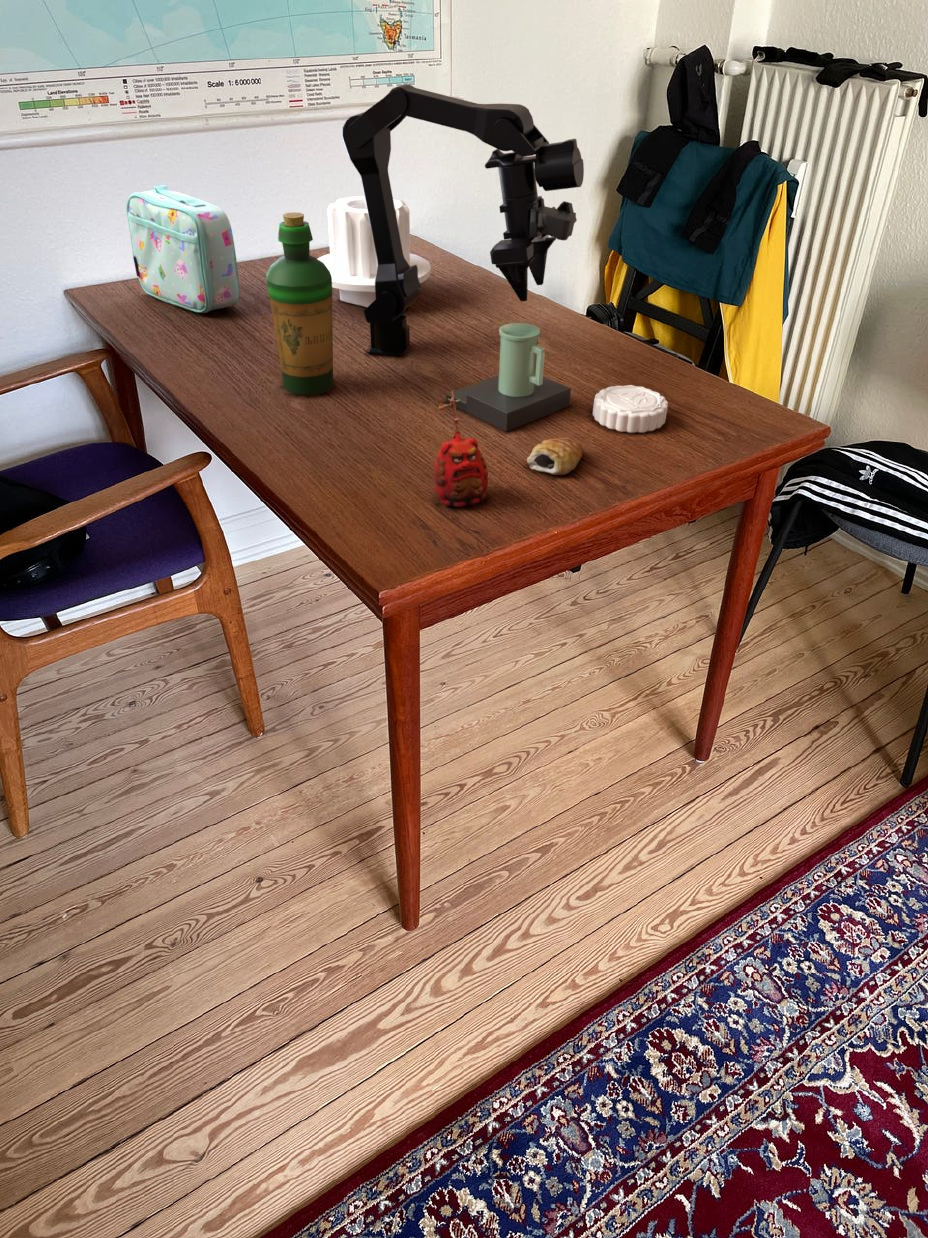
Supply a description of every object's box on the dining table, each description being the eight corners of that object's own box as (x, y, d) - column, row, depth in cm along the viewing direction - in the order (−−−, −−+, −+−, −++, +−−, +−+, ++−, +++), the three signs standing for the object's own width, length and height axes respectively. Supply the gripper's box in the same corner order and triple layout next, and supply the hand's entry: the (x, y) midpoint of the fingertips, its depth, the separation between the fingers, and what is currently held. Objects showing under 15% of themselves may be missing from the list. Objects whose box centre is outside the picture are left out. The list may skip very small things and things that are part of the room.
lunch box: (130, 292, 194) (108, 183, 180) (171, 281, 200) (152, 175, 187) (207, 323, 180) (189, 208, 167) (248, 310, 186) (234, 198, 173)
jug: (488, 388, 150) (490, 328, 144) (516, 378, 153) (519, 319, 147) (525, 405, 145) (529, 344, 139) (553, 394, 148) (558, 334, 142)
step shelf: (446, 402, 153) (446, 384, 151) (508, 379, 161) (509, 362, 159) (506, 431, 144) (507, 413, 142) (569, 406, 153) (571, 388, 151)
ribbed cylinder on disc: (453, 294, 197) (454, 201, 185) (384, 327, 180) (381, 227, 168) (361, 273, 207) (357, 183, 196) (288, 303, 190) (279, 206, 179)
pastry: (555, 445, 141) (557, 422, 139) (593, 457, 138) (596, 434, 136) (523, 468, 135) (525, 444, 133) (562, 481, 132) (565, 458, 130)
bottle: (289, 404, 151) (270, 227, 134) (269, 380, 158) (249, 210, 141) (349, 393, 155) (338, 219, 138) (326, 370, 162) (314, 203, 145)
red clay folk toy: (445, 514, 124) (446, 413, 115) (425, 491, 129) (424, 391, 120) (495, 503, 127) (499, 403, 117) (473, 480, 132) (476, 382, 122)
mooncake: (680, 423, 148) (684, 402, 146) (624, 440, 143) (627, 418, 141) (632, 396, 156) (635, 376, 154) (577, 411, 151) (579, 391, 149)
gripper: (550, 201, 136) (562, 306, 145) (583, 176, 150) (591, 273, 159) (482, 209, 141) (497, 310, 149) (519, 184, 154) (531, 278, 163)
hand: (532, 292), depth 155 cm, fingers open, 9 cm apart
